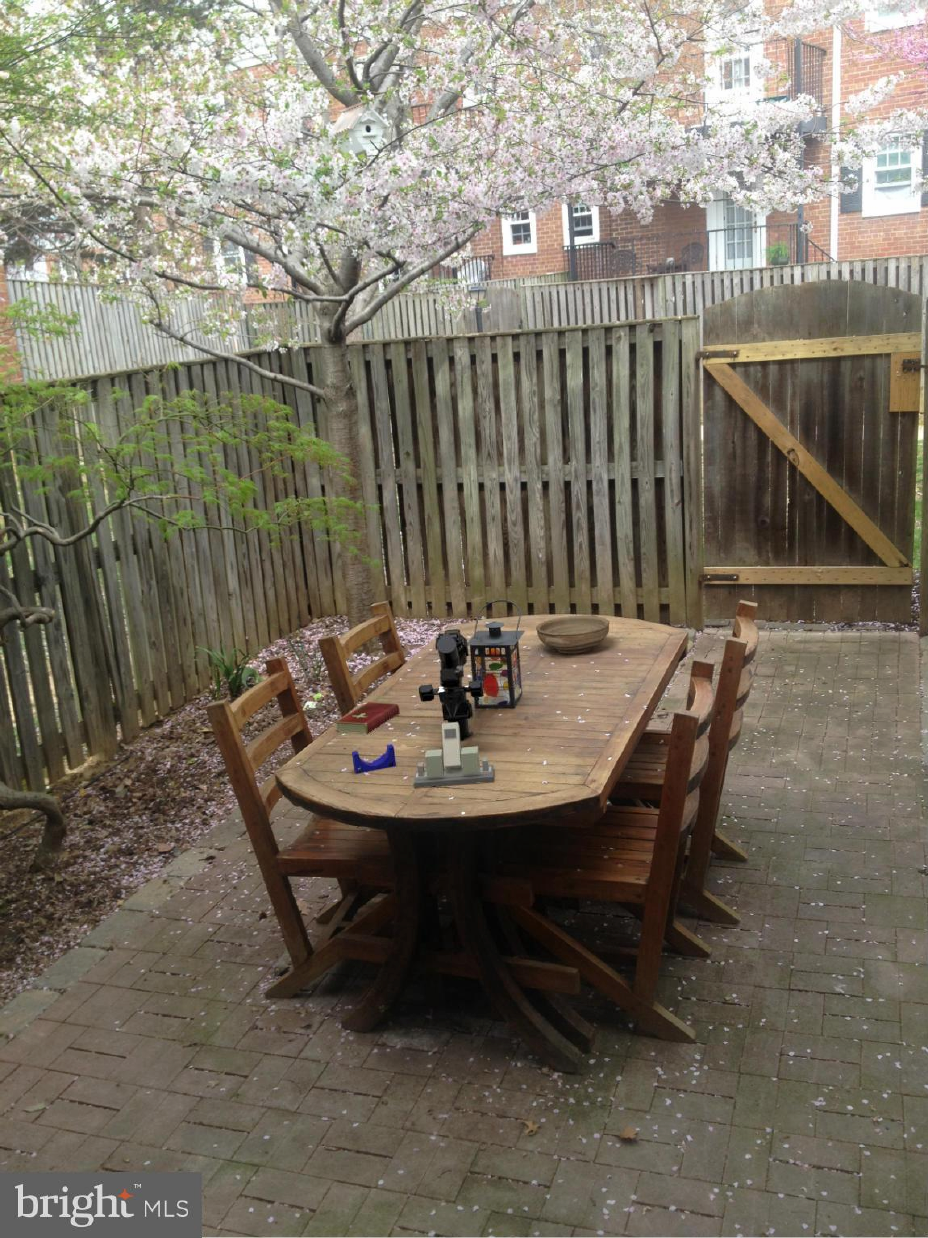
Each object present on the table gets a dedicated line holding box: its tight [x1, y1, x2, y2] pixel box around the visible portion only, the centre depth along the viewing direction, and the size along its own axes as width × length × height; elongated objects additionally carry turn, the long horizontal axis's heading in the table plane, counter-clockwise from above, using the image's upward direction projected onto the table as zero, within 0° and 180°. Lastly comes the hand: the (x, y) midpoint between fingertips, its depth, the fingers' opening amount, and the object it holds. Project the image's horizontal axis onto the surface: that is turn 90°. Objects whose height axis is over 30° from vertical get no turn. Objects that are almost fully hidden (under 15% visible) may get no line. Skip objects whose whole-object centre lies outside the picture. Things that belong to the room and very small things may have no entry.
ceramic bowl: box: [535, 614, 610, 654], centre depth 418 cm, size 37×29×10 cm
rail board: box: [413, 745, 495, 789], centre depth 297 cm, size 9×22×8 cm, turn 88°
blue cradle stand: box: [351, 743, 397, 775], centre depth 312 cm, size 12×4×6 cm, turn 106°
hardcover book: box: [334, 701, 400, 735], centre depth 354 cm, size 12×21×4 cm, turn 154°
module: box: [441, 722, 462, 769], centre depth 299 cm, size 5×4×12 cm
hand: (452, 716), depth 310 cm, fingers closed
